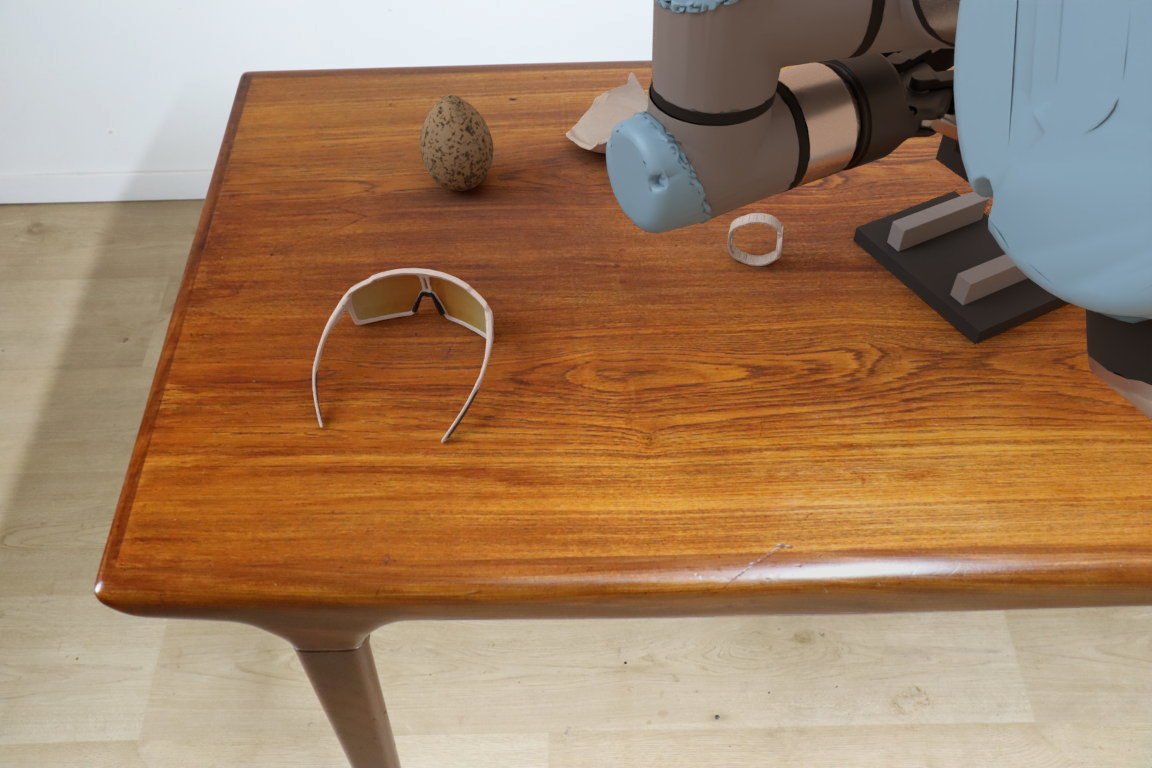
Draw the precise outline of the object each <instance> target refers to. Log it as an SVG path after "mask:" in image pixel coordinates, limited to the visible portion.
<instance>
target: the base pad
mask: <svg viewBox="0 0 1152 768" xmlns="http://www.w3.org/2000/svg"><path fill="white" fill-rule="evenodd" d="M989 200H990V198H989V197H981V196H980V195H978V194H977V193H975V191H974V190H972V191H970V192H968V193H965V194H963V195H961V194H959V193H958V192H957V191H956V190H953V191H950V192H948V193H944V194H942V195H940V196H937V197H934V198H931V199H929V200H926V201H924V202H921V203H918V204H915V205H912V206H910V207H908V208H905V209H902V210H900V211H897V212H893V213H891V214H888V215H886V216H883V217H880V218H878V219H875V220H873V221H870V222H867V223H864V224H862V225H859V226H856V228H855V231H854V235H853V238H852V239H853V241H854V242H855V243H856V244H857V245H858V246H860V247H861V248H862V249H863V251H865V252H866V253H867V254H868V255H870V256H871V257H872V258H873V259H875V260H876V261H877V262H878V263H879V264H881V265H882V267H884V268H885V269H886V270H888V271H889V272H890V273H891V274H892V275H893V276H894V277H896V278H897V279H898V280H899V281H900V282H902V284H904V285H905V286H906V287H908V288H909V289H910V290H911V291H912V292H913V293H914V294H915V295H916V296H918V297H919V298H920V299H921V300H922V301H924V302H925V303H926V304H927V305H928V306H930V308H931V309H933V310H934V311H935V312H937V314H939V315H940V317H942V318H944V320H946V321H947V322H948V323H949V324H951V325H952V326H953V327H954V328H955V329H956V330H958V331H959V332H960V333H961V334H962V335H963V336H965V338H967V339H968V340H969V341H970V342H972V343H973V345H978V344H980V343H982V342H984V341H986V340H989V339H991V338H994V337H996V336H998V335H1000V334H1002V333H1005V332H1007V331H1009V330H1011V329H1014V328H1016V327H1018V326H1020V325H1023V324H1026V323H1027V322H1029V321H1032V320H1034V319H1037V318H1039V317H1041V316H1044V315H1045V314H1047V313H1050V312H1052V311H1054V310H1057V309H1059V308H1061V307H1063V306H1066V305H1068V304H1069V303H1068V302H1066V301H1064V300H1062V299H1060V298H1058V297H1056V296H1055V295H1053V294H1051V293H1049V292H1047V291H1046V290H1045V289H1043V288H1042V287H1040V286H1039V285H1038V284H1036V283H1035V282H1033V281H1032V280H1031V279H1029V278H1028V277H1027V276H1026V275H1025V274H1024V273H1023V272H1022V271H1021V270H1020V269H1019V268H1018V267H1017V266H1016V265H1015V264H1014V263H1013V262H1012V261H1011V259H1010V258H1009V257H1008V256H1007V254H1006V253H1005V252H1004V251H1003V250H1002V248H1001V247H1000V246H999V244H998V243H997V241H996V240H995V238H994V237H993V235H992V234H991V232H990V231H989V229H988V218H989V215H988V214H987V213H985V211H986V208H987V206H988V203H989Z"/></svg>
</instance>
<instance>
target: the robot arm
mask: <svg viewBox="0 0 1152 768" xmlns="http://www.w3.org/2000/svg"><path fill="white" fill-rule="evenodd" d="M652 6H653V7H652V42H651V43H652V44H651V45H652V47H651V75H650V76H651V79H650V85H649V87H648V92H647V93H648V94H647V95H648V107H647V111H643V112H638V113H634V114H633V116H632V117H629V118H627V119H624V120H622V121H620V122H619V123H617V124H616V125H615V126H614V127H613V130H612V132H611V137H610V138H609V139H608V142H607V146H606V154H605V162H606V170H607V175H608V179H609V183H610V186H611V187H610V188H611V189H612V192H613V195H614V197H615V200H616V201H617V203H618V205H619V207H620V208H621V210H622V212H623V213H624V215H625V216H626V217H628V218H629V220H630V221H632V223H633V224H634V226H635V227H637V228H639V229H640V230H642V231H644V232H646V233H651V234H663V233H666V232H671V231H674V230H678V229H683V228H685V227H689V226H692V225H693V226H694V225H696V224H697V225H698V224H706V223H708V222H711V220H712V219H715V218H717V217H720V216H722V215H724V214H728V213H730V212H733V211H736V210H737V209H740V208H743V207H745V206H749V205H751V204H754V203H756V202H757V203H758V202H759V201H763V200H765V199H767V198H770V197H773V196H777V195H780V194H782V193H786V192H789V191H791V190H793V189H797V188H799V187H801V186H804V185H808V184H811V183H814V182H816V181H818V180H822V179H824V178H828V177H831V176H834V175H837V174H839V173H841V172H844V171H850V170H852V169H853V170H854V169H855V168H858V167H861V166H864V165H867V164H870V163H872V162H875V161H878V160H881V159H883V158H886V157H888V156H890V154H892V153H893V152H894V151H895V150H896V149H897V148H899V147H900V146H901V145H902V144H904V142H905V141H908V140H909V139H913V138H930V137H932V136H935V135H936V134H940V135H942V136H943V135H945V136H947V137H950V138H952V139H955V140H956V143H955V146H954V150H955V152H957V153H959V154H961V156H962V161H963V164H964V167H965V170H966V173H967V177H968V180H969V183H968V184H969V186H970V188H971V189H972V191H975V193H977V194H978V195H980V196H981V197H988V198H989V199H992V205H991V208H990V211H989V215H988V216H989V218H988V229H989V231H990V232H991V234H992V235H993V237H994V238H995V240H996V241H997V243H998V244H999V246H1000V247H1001V248H1002V250H1003V251H1004V252H1005V253H1006V254H1007V256H1008V257H1009V258H1010V259H1011V261H1012V262H1013V263H1014V264H1015V265H1016V266H1017V267H1018V268H1019V269H1020V270H1021V271H1022V272H1023V273H1024V274H1025V275H1026V276H1027V277H1028V278H1029V279H1031V280H1032V281H1033V282H1035V283H1036V284H1038V285H1039V286H1040V287H1042V288H1043V289H1045V290H1046V291H1047V292H1049V293H1051V294H1053V295H1055V296H1056V297H1058V298H1060V299H1062V300H1064V301H1066V302H1068V304H1071V305H1074V306H1077V307H1079V308H1081V309H1084V310H1085V331H1086V352H1087V362H1088V366H1089V370H1090V371H1091V372H1092V373H1093V374H1094V375H1095V376H1096V377H1097V379H1099V380H1100V381H1102V382H1103V383H1104V384H1105V385H1106V386H1108V387H1109V388H1110V389H1112V391H1114V392H1115V393H1116V394H1117V395H1119V397H1121V398H1123V399H1124V400H1125V401H1126V402H1127V403H1129V404H1130V405H1131V406H1133V407H1134V408H1135V409H1136V410H1137V411H1139V412H1140V413H1141V414H1142V415H1143V416H1145V417H1146V418H1147V419H1149V420H1150V421H1151V422H1152V0H653V5H652ZM787 67H789V68H787ZM783 68H787V69H784V70H781V69H783ZM951 68H953V69H951Z"/></svg>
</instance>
